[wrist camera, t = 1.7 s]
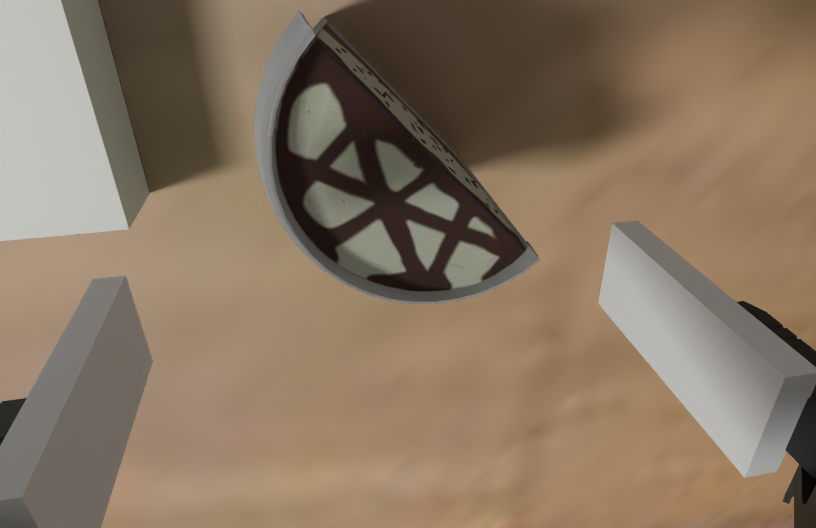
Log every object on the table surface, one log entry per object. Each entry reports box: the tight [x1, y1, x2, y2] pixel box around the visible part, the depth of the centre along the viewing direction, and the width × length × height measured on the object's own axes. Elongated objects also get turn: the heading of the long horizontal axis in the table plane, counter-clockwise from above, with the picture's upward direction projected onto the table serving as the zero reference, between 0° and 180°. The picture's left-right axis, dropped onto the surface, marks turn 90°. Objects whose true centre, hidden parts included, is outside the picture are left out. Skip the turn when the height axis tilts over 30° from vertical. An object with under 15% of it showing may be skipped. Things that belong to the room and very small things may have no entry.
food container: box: [254, 11, 540, 304], centre depth 24 cm, size 12×6×10 cm, turn 43°
